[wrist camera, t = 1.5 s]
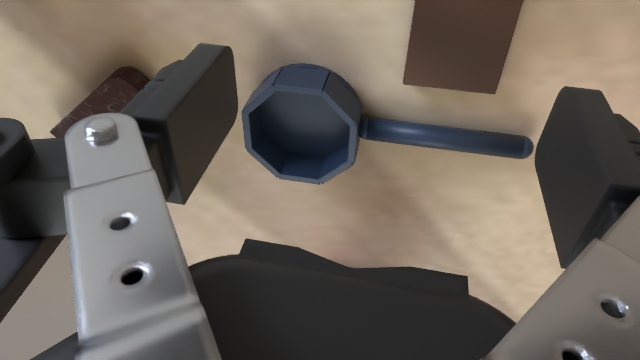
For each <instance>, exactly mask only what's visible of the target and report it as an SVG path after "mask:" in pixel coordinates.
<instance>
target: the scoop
mask: <svg viewBox="0 0 640 360" xmlns="http://www.w3.org/2000/svg"><path fill="white" fill-rule="evenodd" d="M361 105H362V104H361V103H360V101H359V99H358V97H357V95H356V93H355V92H354V90H353V89H352V88H351V86H350V85H349V84H348V83H347V82H346V81H345V80H344V79H343V78H341V77H340V76H339V75H337V74H336V73H334V72H332V71H331V70H328V69H326V68H324V67H320V66H317V65H312V64H292V65H288V66H284V67H281V68H279V69H277V70H276V71H274V72H272V73H271V74H270V75H269V76H268V77H267V78H266V79H265V80H264V81H263V82H262V84H261V85H260V86H259V87H258V88H257V89H256V90H254V91H253V93H252V95H251V96H250V98H249V100H248V101H247V103H246V104H245V106H244V108H243V110H242V121H243V130H244V139H245V148H246V149H247V151H248V152H249V153H250V154H251V155H252V156H253V157H254V158H256V159H257V160H258V161H259V162H260V163H261V164H262V165H263V166H265V167H266V168H267V169H268V170H269V171H270V172H271V173H272V174H273V175H275V176H276V177H277V178H278V177H279V179H284V180H291V181H298V182H306V183H313V184H320V183H321V184H323V183H325V182H326V181H328V180H330V179H331V178H333V177H334V176H336V175H338V174H339V173H341V172H343V171H344V170H346V169H347V168H349V167H351V166H352V165H353V164H354V163H355V159H356V155H357V150H358V146H359V141H360V137H361V138H363V139H366V140H373V141H381V142H389V143H397V144H405V145H413V146H421V147H429V148H437V149H444V150H452V151H460V152H468V153H476V154H484V155H492V156H500V157H508V158H515V159H525V158H527V157H529V156H530V155H531V154H532V152H533V149H534V145H533V142H532V141H531V140H530V139H529V138H528V137H525V136H519V135H511V134H502V133H494V132H486V131H477V130H469V129H461V128H452V127H444V126H436V125H427V124H419V123H411V122H402V121H394V120H386V119H377V118H369V117H367V118H363V114H362V106H361Z"/></svg>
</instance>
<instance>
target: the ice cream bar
mask: <svg viewBox="0 0 640 360" xmlns="http://www.w3.org/2000/svg"><path fill="white" fill-rule="evenodd" d="M148 82H149V80H148V79H147V78H146V77H145V76H144V75H143V74H142V73H140V72H139V71H137V70H136V69H133V68H131V67H123V68H119V69H118V70H117V71H115V72H114V73H113V74H112V75H111V76H110V77H109V78H108V79H107V80H105V81H104V82H103V83H102V84H101V85H100V86H99V87H98V88H97V89H96V90H94V91H93V92H92V93H91V94H90V95H89V96H88V97H87V98H86V99H85V100H84V101H82V102H81V103H80V104H79V105H78V106H77V107H76V108H75V109H74V110H73V111H72V112H70V113H69V114H68V115H67V116H66V117H65V118H64V119H63V120H62V121H61V122H60V123H58V124H57V125H56V126H55V127H54V128H53V129H52V130H51V131H50V133H51V134H53V135H54V136H55V137H56V138H65V134H66V132H67V130H68V129H69V128H70V127H71V126H72V125H74V124H75V123H76V122H78V121H80V120H82V119H84V118H87V117H89V116H93V115H97V114H102V113H119V112H120V111H121V110H122V109H123V108H124V107H125V106H126V104H127V103H128V102H129V101H130V100H131V99H132V98H133V97H134V96H135V95H136V94H137V93H138V92H139V91H140V90H141V89H144V86H145V85H146V84H147V83H148Z"/></svg>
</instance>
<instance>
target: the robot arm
mask: <svg viewBox="0 0 640 360" xmlns="http://www.w3.org/2000/svg"><path fill="white" fill-rule="evenodd" d="M237 110H238V97H237V87H236V77H235V67H234V57H233V52H232V49H231V48H230V47H229V46H222V45H213V44H204V43H200V44H198V45H197V46H196V47H195V49H194V50H193V51H192V52H191V53H190V54H189V55H188V56H187V57H186V58H185V59H184V60H178V61H176V62H174V63H172V64H170V65H168V66H166V67H164V68H162V69H161V70H160V71H159V72H158V73H157V74H156V75H155V76H154V77H153V78H152V81H151V80H150V81H149V82H148V83H147V84H146V85H145V86H144V89H141V90H140V91H139V92H138V93H137V94H136V95H135V96H134V97H133V98H132V99H131V100H130V101H129V102H128V103H127V104H126V106H125V107H124V108H123V109H122V110H121V111H120V112H119V113H102V114H97V115H93V116H89V117H87V118H84V119H82V120H80V121H78V122H76V123H75V124H74V125H72V126H71V127H70V128H69V129H68V130H67V132H66V134H65V138H50V139H33V140H30V138H29V135H28V133H27V131H26V129H25V127H24V125H23V124H22V123H21V122H20V121H18V120H15V119H10V118H0V323H1V321H2V320H3V319H4V317H5V316H6V315H7V313H8V312H9V311H10V309H11V308H12V306H13V305H14V304H15V303H16V301H17V300H18V299H19V297H20V296H21V295H22V293H23V292H24V291H25V289H26V288H27V287H28V285H29V284H30V283H31V281H32V280H33V279H34V277H35V276H36V274H37V273H38V272H39V271H40V269H41V268H42V267H43V265H44V264H45V263H46V261H47V260H48V259H49V257H50V256H51V255H52V253H53V252H54V251H55V249H56V248H57V247H58V245H59V244H60V243H61V241H62V240H63V238H64V237H65V236H66V234H67V235H68V245H69V254H70V263H71V273H72V282H73V290H74V291H73V292H74V301H75V311H76V320H77V329H78V332H76V333H74V334H73V335H71V336H69V337H68V338H66V339H64V340H62V341H61V342H59V343H57V344H56V345H54V346H52V347H51V348H49V349H47V350H46V351H44V352H42V353H41V354H39V355H37V356H35V357H34V358H32V359H30V360H640V132H639V130H638V128H637V127H635V126H634V125H633V124H632V123H630V122H629V121H628V120H627V119H625V118H624V117H623V116H622V115H620V114H614V113H613V112H612V110H611V108H610V106H609V104H608V102H607V100H606V99H605V97H604V95H603V93H602V92H601V91H600V90H593V89H584V88H576V87H567V86H565V87H563V88H562V89H561V91H560V92H559V94H558V96H557V98H556V100H555V103H554V105H553V108H552V110H551V112H550V115H549V117H548V120H547V122H546V124H545V127H544V129H543V132H542V134H541V136H540V139H539V141H538V144H537V148H536V153H535V168H536V172H537V176H538V180H539V184H540V187H541V191H542V195H543V199H544V203H545V207H546V211H547V215H548V219H549V223H550V226H551V230H552V234H553V238H554V242H555V246H556V250H557V254H558V258H559V262H560V265H561V268H564V269H566V270H565V271H564V272H563V273H562V274H561V275H560V276H559V277H558V278H557V280H556V281H555V282H554V283H553V284H552V285H551V286H550V287H549V288H548V289H547V291H546V292H545V293H544V294H543V295H542V296H541V297H540V298H539V299H538V300H537V301H536V303H535V304H534V305H533V306H532V307H531V308H530V309H529V310H528V311H527V312H526V314H525V315H524V316H523V317H522V318H521V319H520V320H519V321H518V322H517V323H515V322H514V321H513V320H511V319H510V318H509V317H508V316H506V315H505V314H504V313H502V312H501V311H499V310H498V309H496V308H494V307H493V306H491V305H490V304H488V303H486V302H484V301H482V300H480V299H478V298H476V297H473V296H471V295H469V292H468V276H463V275H457V274H451V273H445V272H439V271H433V270H427V269H422V268H416V267H385V268H349V267H346V266H343V265H341V264H338V263H336V262H333V261H331V260H328V259H326V258H323V257H321V256H318V255H316V254H313V253H311V252H308V251H306V250H303V249H301V248H298V247H293V246H287V245H281V244H275V243H270V242H264V241H258V240H252V239H245V242H244V244H243V246H242V249H241V251H240V253H239V254H237V255H227V256H220V257H216V258H211V259H207V260H204V261H202V262H199V263H196V264H193V265H191V266H189V267H188V265H187V262H186V259H185V256H184V253H183V250H182V248H181V245H180V242H179V239H178V236H177V233H176V230H175V227H174V224H173V221H172V218H171V216H170V213H169V210H168V207H167V204H166V202H171V203H177V204H183V205H185V203H186V201H187V200H188V198H189V196H190V195H191V193H192V192H193V190H194V188H195V187H196V185H197V183H198V182H199V180H200V178H201V177H202V175H203V174H204V172H205V170H206V169H207V167H208V165H209V164H210V162H211V161H212V159H213V157H214V156H215V154H216V152H217V151H218V149H219V147H220V146H221V144H222V143H223V141H224V139H225V138H226V136H227V134H228V133H229V131H230V129H231V128H232V126H233V125H234V123H235V120H236V116H237Z"/></svg>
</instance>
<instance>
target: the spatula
mask: <svg viewBox="0 0 640 360" xmlns="http://www.w3.org/2000/svg"><path fill="white" fill-rule="evenodd" d="M522 3H523V0H415V5H414V12H413V18H412V25H411V32H410V39H409V45H408V52H407V59H406V65H405V72H404V79H403V84H405V85H414V86H423V87H433V88H442V89H451V90H460V91H469V92H478V93H488V94H495V93H496V90H497V86H498V83H499V80H500V76H501V73H502V70H503V66H504V63H505V60H506V56H507V53H508V50H509V46H510V43H511V40H512V36H513V33H514V30H515V26H516V23H517V20H518V16H519V13H520V10H521V6H522Z"/></svg>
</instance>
